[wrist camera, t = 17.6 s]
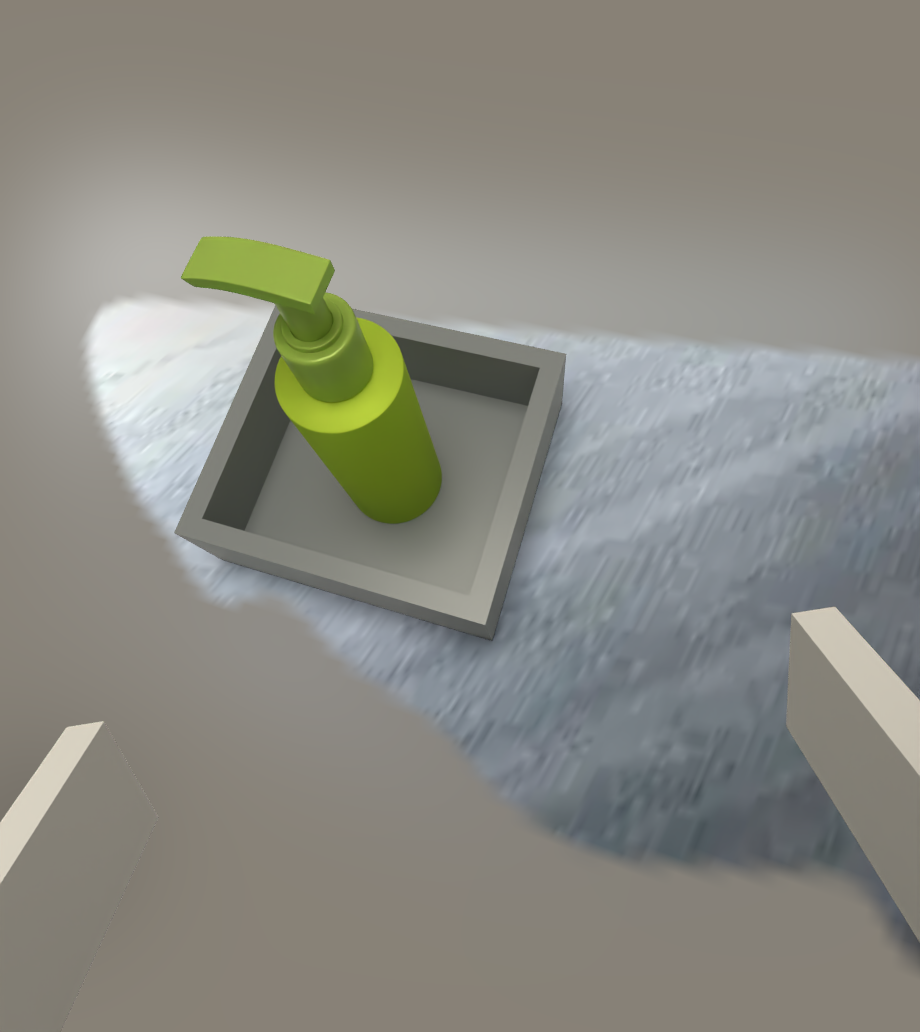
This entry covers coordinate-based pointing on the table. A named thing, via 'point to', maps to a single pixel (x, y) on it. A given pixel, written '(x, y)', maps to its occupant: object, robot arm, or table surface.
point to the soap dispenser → (334, 376)
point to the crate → (369, 543)
